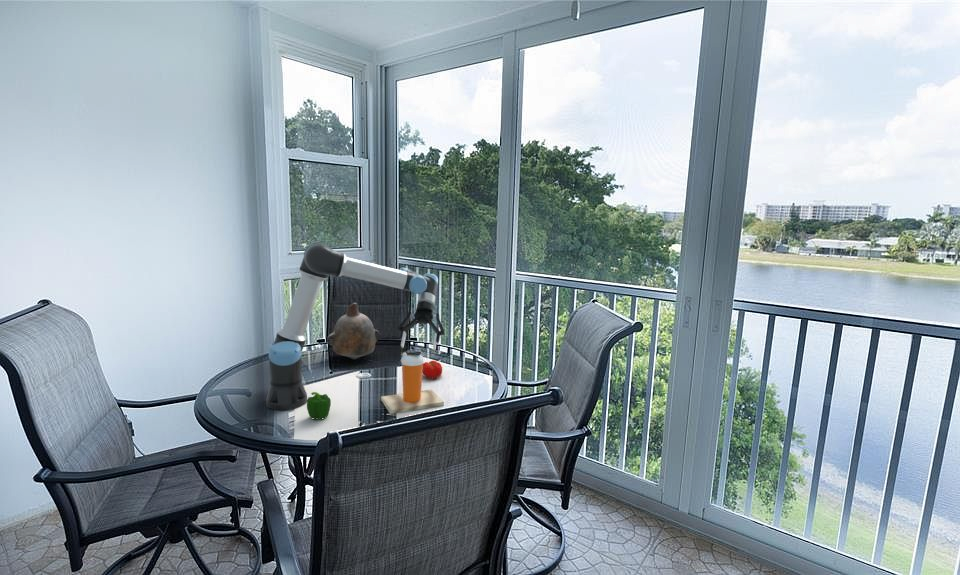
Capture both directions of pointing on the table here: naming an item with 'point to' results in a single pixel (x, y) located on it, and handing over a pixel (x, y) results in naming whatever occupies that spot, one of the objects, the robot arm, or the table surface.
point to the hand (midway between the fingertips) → (418, 347)
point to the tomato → (432, 369)
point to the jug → (353, 334)
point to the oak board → (399, 405)
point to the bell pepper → (318, 405)
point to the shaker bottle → (412, 375)
